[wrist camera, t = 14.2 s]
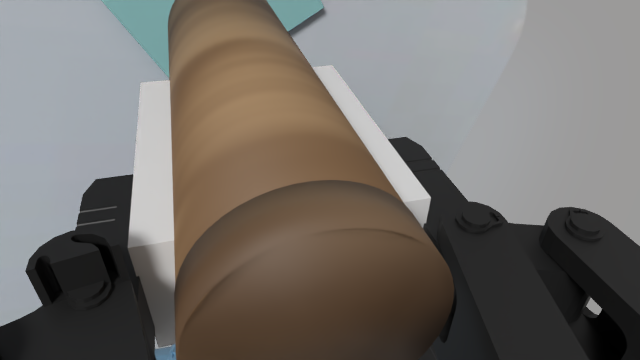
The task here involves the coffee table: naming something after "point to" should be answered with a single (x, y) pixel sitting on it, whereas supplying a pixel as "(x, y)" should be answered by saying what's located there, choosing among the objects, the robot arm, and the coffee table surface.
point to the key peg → (284, 207)
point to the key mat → (153, 12)
